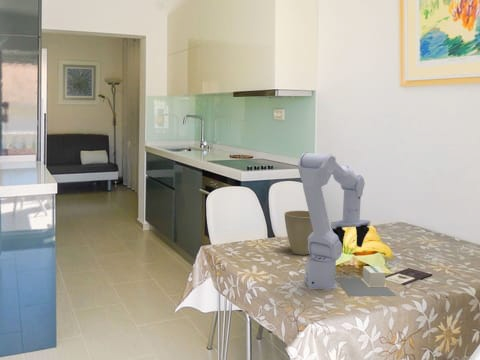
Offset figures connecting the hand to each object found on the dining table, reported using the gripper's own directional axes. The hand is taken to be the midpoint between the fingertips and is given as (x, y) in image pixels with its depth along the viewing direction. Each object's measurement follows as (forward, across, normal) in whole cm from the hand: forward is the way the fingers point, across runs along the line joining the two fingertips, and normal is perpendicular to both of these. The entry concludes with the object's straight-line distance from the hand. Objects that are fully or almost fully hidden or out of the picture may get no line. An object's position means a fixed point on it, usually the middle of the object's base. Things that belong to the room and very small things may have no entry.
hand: (349, 247), depth 171 cm
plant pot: (+10, -4, +29) cm, 31 cm away
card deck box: (+9, +2, -12) cm, 15 cm away
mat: (+9, -3, -14) cm, 17 cm away
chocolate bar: (+10, +17, -10) cm, 22 cm away
